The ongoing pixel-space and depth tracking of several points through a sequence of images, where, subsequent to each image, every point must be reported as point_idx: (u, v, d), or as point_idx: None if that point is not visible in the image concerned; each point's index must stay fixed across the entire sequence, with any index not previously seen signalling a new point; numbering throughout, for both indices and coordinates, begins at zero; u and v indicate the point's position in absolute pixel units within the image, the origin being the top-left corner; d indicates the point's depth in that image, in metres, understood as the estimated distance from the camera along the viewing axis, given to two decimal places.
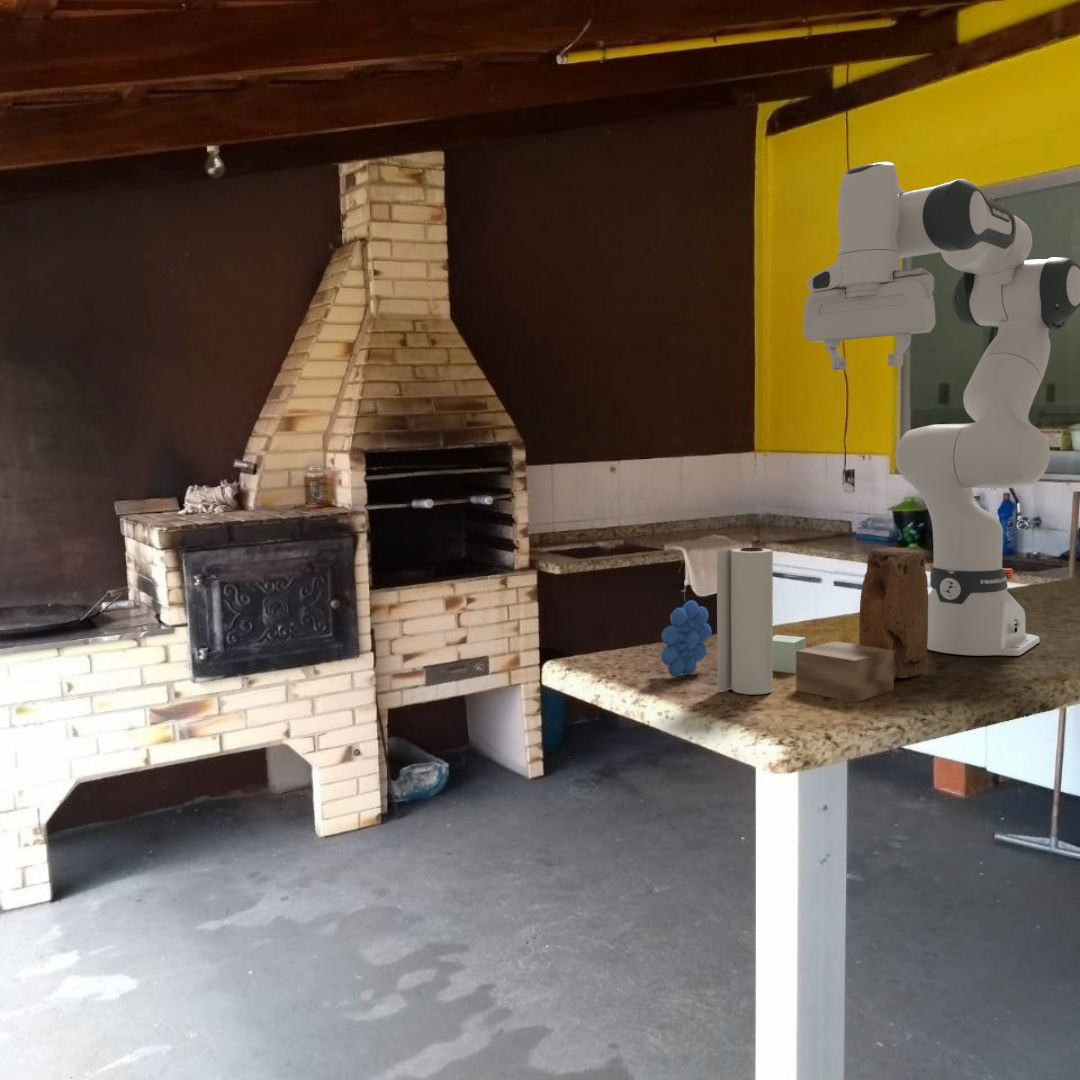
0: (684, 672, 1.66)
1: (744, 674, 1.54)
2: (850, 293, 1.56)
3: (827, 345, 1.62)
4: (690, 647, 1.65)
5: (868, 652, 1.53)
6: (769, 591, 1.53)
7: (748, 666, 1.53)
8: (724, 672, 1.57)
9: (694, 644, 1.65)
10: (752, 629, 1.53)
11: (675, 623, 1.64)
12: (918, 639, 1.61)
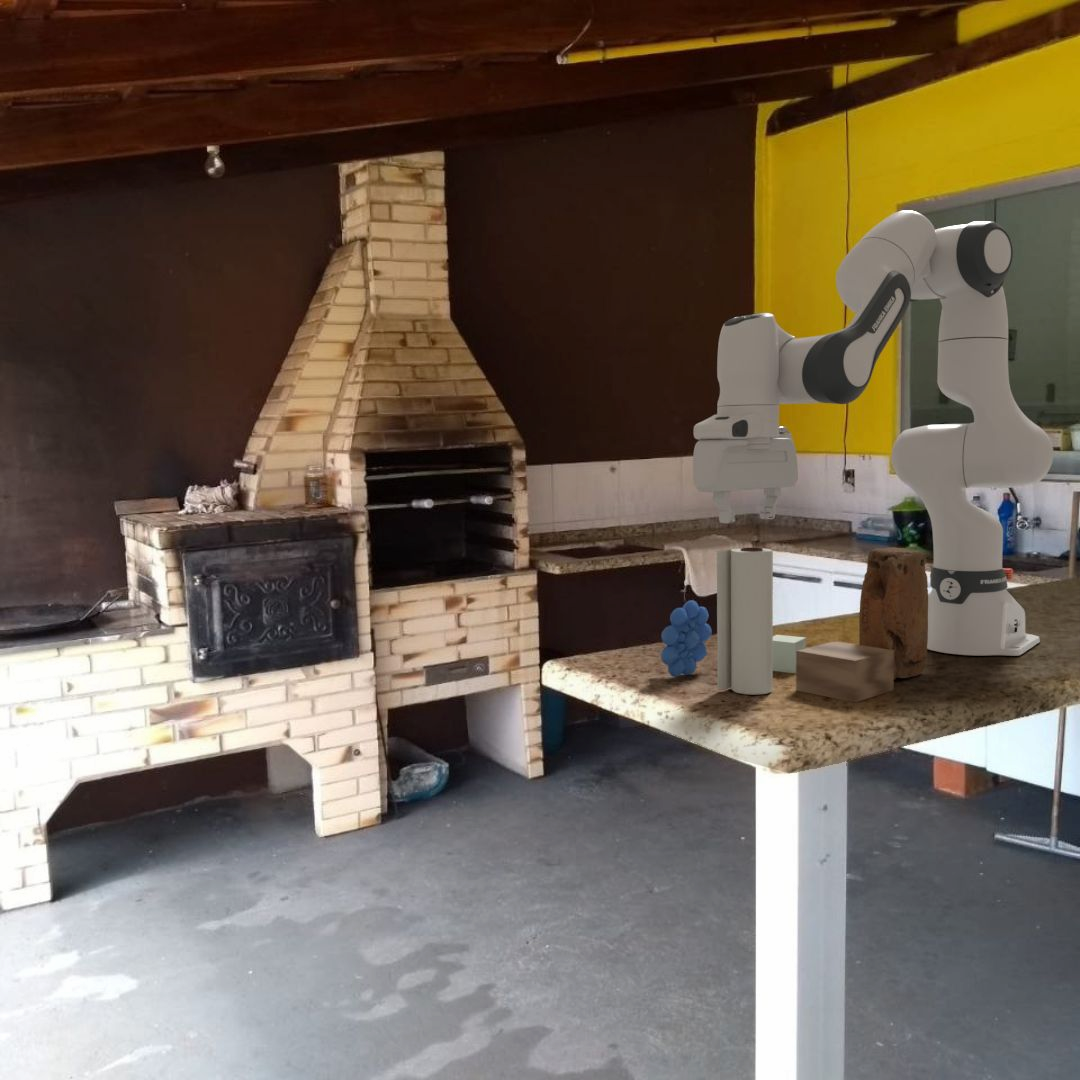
0: (684, 672, 1.66)
1: (744, 674, 1.54)
2: (759, 445, 1.50)
3: (726, 497, 1.49)
4: (690, 647, 1.65)
5: (868, 652, 1.53)
6: (769, 591, 1.53)
7: (748, 666, 1.53)
8: (724, 672, 1.57)
9: (694, 644, 1.65)
10: (752, 629, 1.53)
11: (675, 623, 1.64)
12: (918, 639, 1.61)
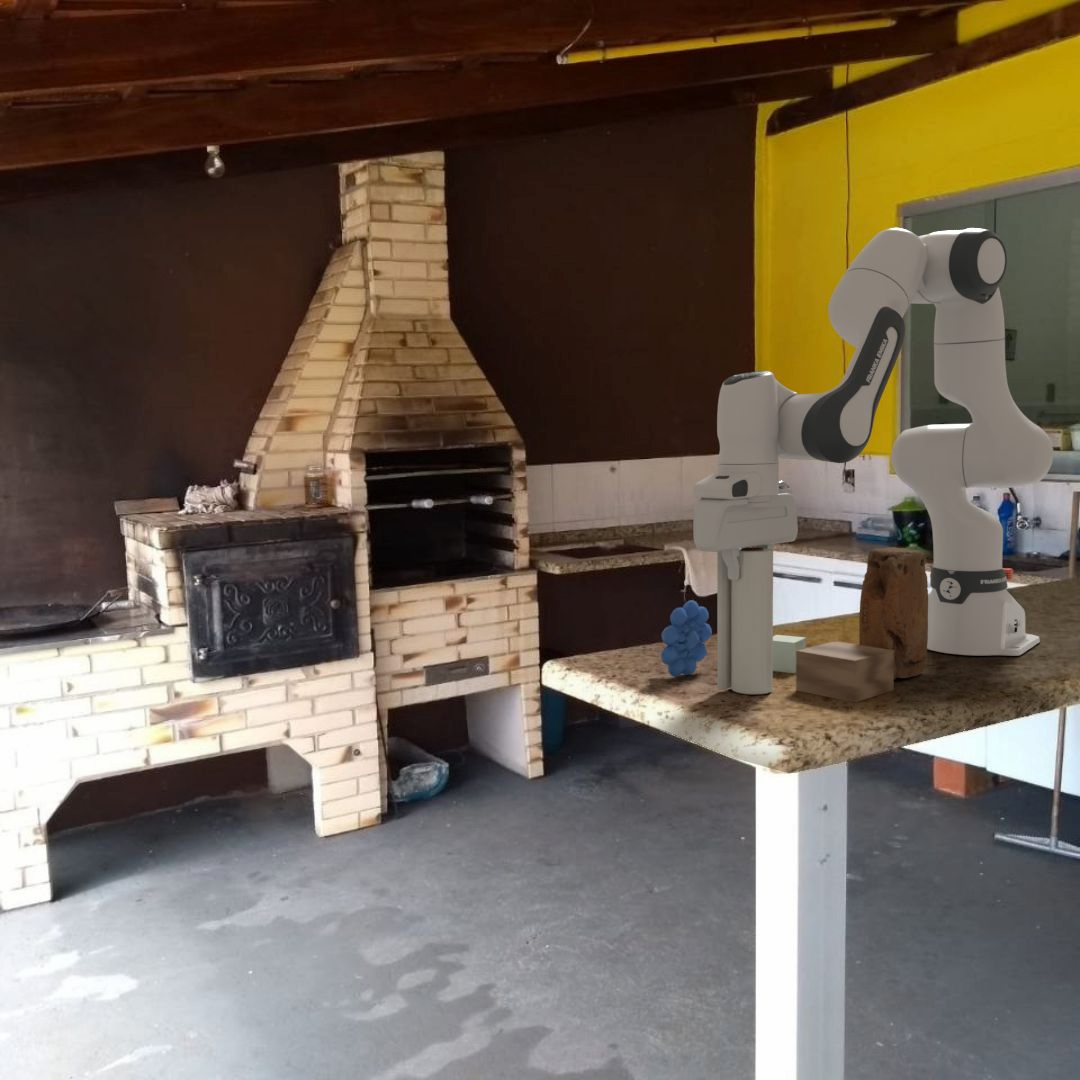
0: (684, 672, 1.66)
1: (744, 673, 1.54)
2: (759, 503, 1.51)
3: (735, 554, 1.51)
4: (690, 647, 1.65)
5: (868, 652, 1.53)
6: (770, 591, 1.53)
7: (748, 666, 1.53)
8: (724, 672, 1.57)
9: (694, 644, 1.65)
10: (752, 629, 1.53)
11: (675, 623, 1.64)
12: (918, 639, 1.61)
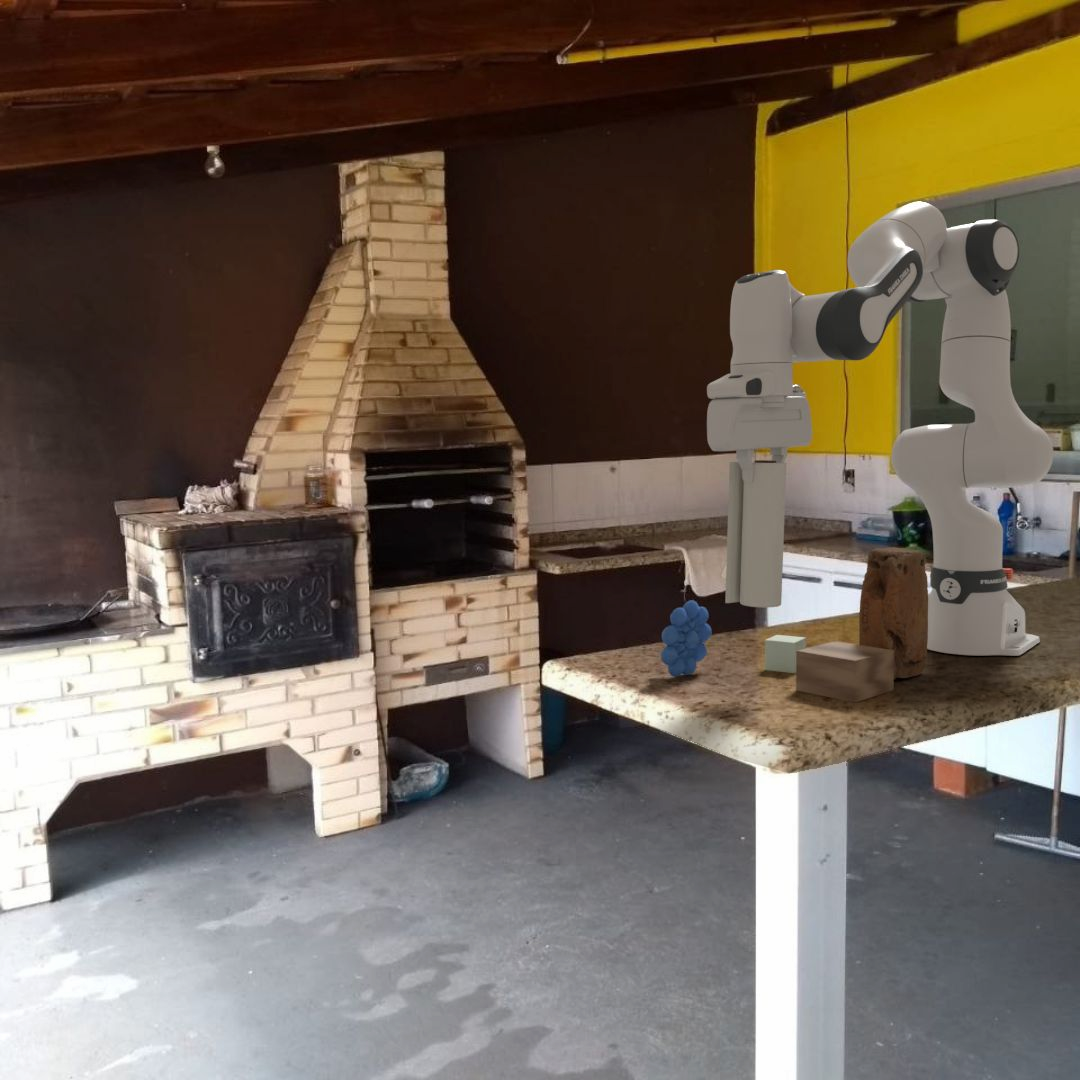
0: (684, 672, 1.66)
1: (751, 586, 1.53)
2: (773, 404, 1.49)
3: (749, 455, 1.50)
4: (690, 647, 1.65)
5: (868, 652, 1.53)
6: (780, 504, 1.52)
7: (755, 578, 1.52)
8: (733, 585, 1.56)
9: (694, 644, 1.65)
10: (761, 541, 1.52)
11: (675, 623, 1.64)
12: (918, 639, 1.61)
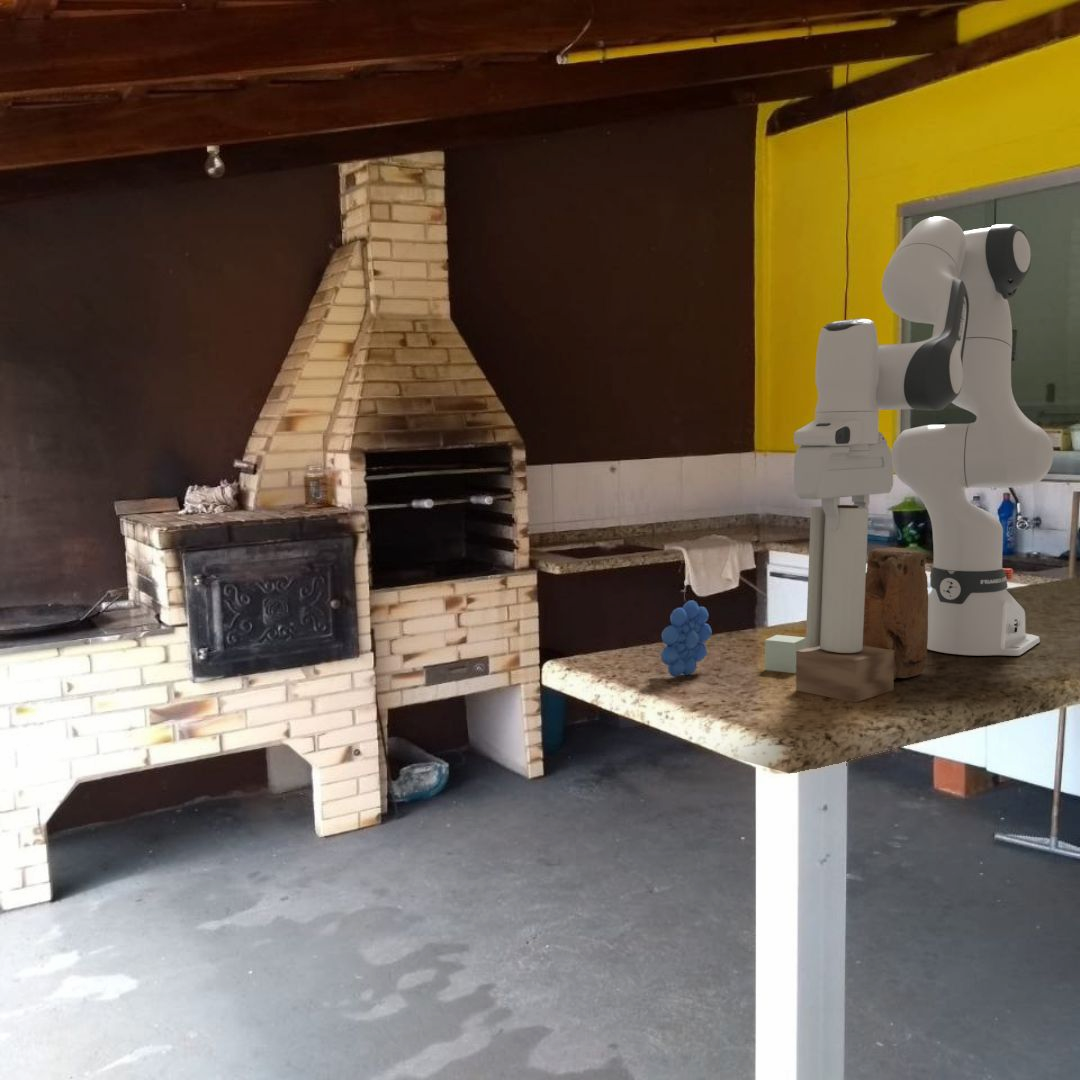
0: (684, 672, 1.66)
1: (834, 631, 1.52)
2: (859, 452, 1.49)
3: (835, 503, 1.49)
4: (690, 647, 1.65)
5: (868, 652, 1.53)
6: (863, 549, 1.51)
7: (838, 624, 1.52)
8: (813, 630, 1.56)
9: (694, 644, 1.65)
10: (843, 586, 1.51)
11: (675, 623, 1.64)
12: (918, 639, 1.61)
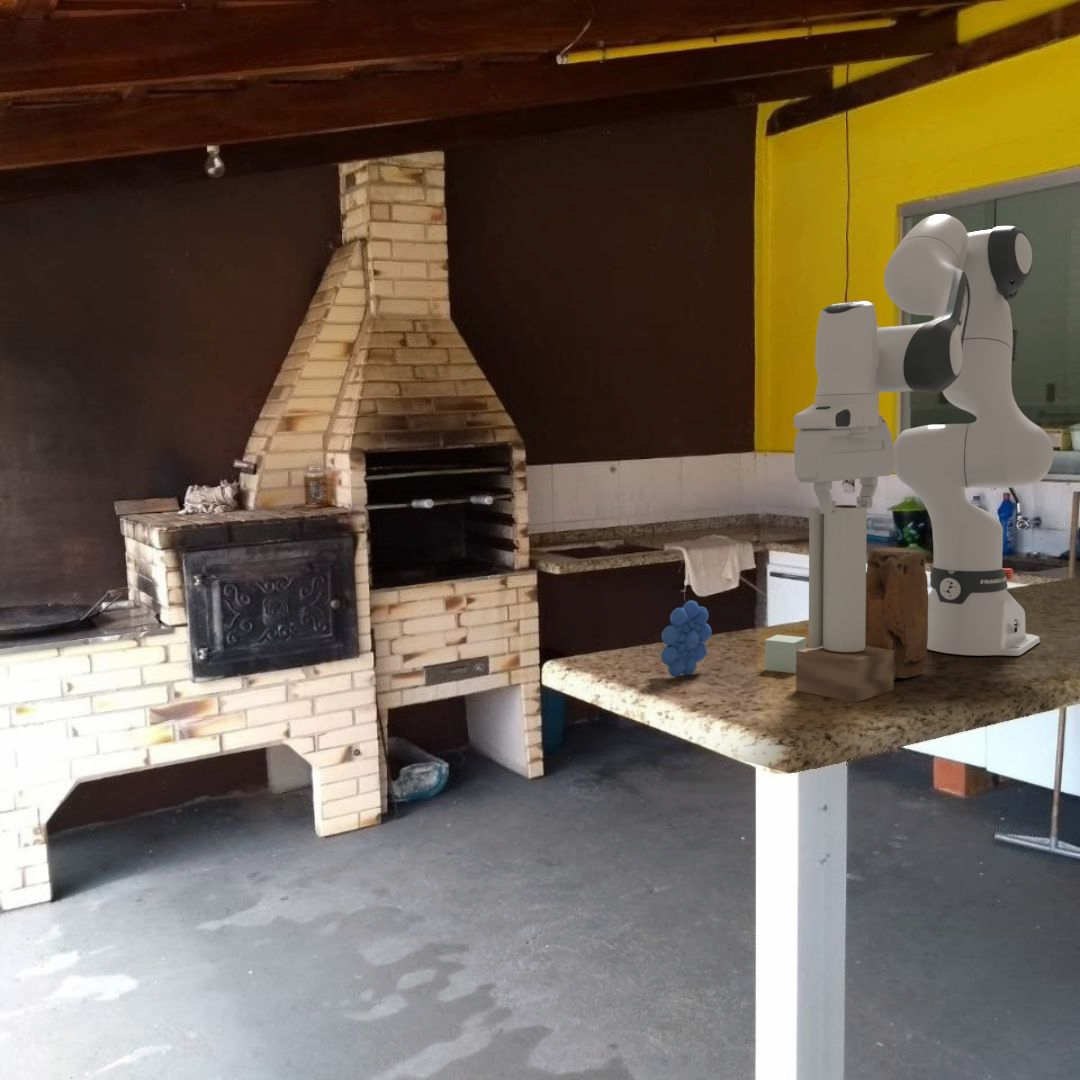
0: (684, 672, 1.66)
1: (836, 631, 1.53)
2: (860, 435, 1.49)
3: (828, 487, 1.48)
4: (690, 647, 1.65)
5: (868, 652, 1.53)
6: (863, 548, 1.52)
7: (840, 623, 1.52)
8: (815, 630, 1.56)
9: (694, 644, 1.65)
10: (844, 586, 1.52)
11: (675, 623, 1.64)
12: (918, 639, 1.61)
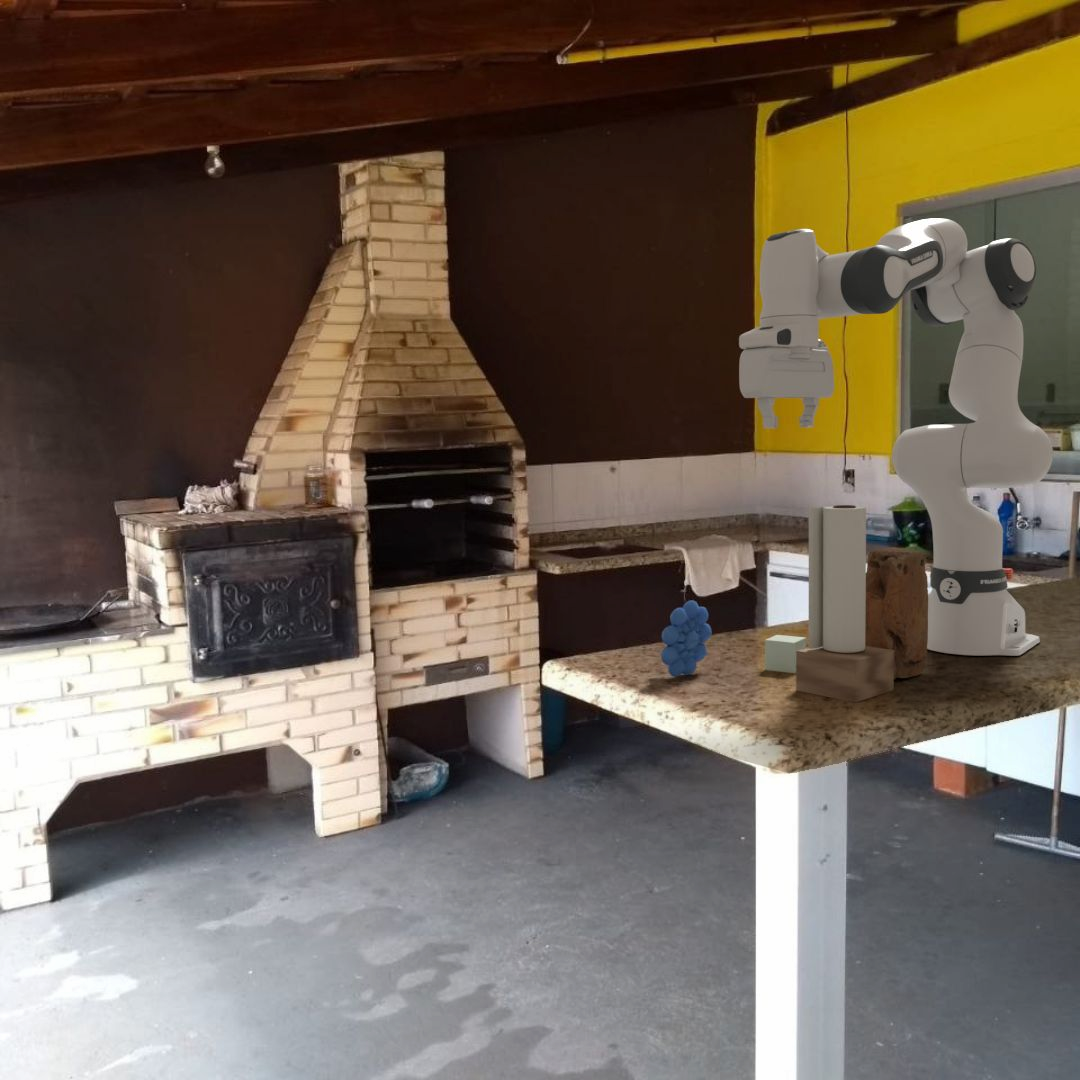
0: (684, 672, 1.66)
1: (836, 632, 1.53)
2: (800, 354, 1.59)
3: (770, 402, 1.58)
4: (690, 647, 1.65)
5: (868, 652, 1.53)
6: (862, 548, 1.52)
7: (840, 624, 1.52)
8: (815, 630, 1.56)
9: (694, 644, 1.65)
10: (844, 586, 1.52)
11: (675, 623, 1.64)
12: (918, 639, 1.61)
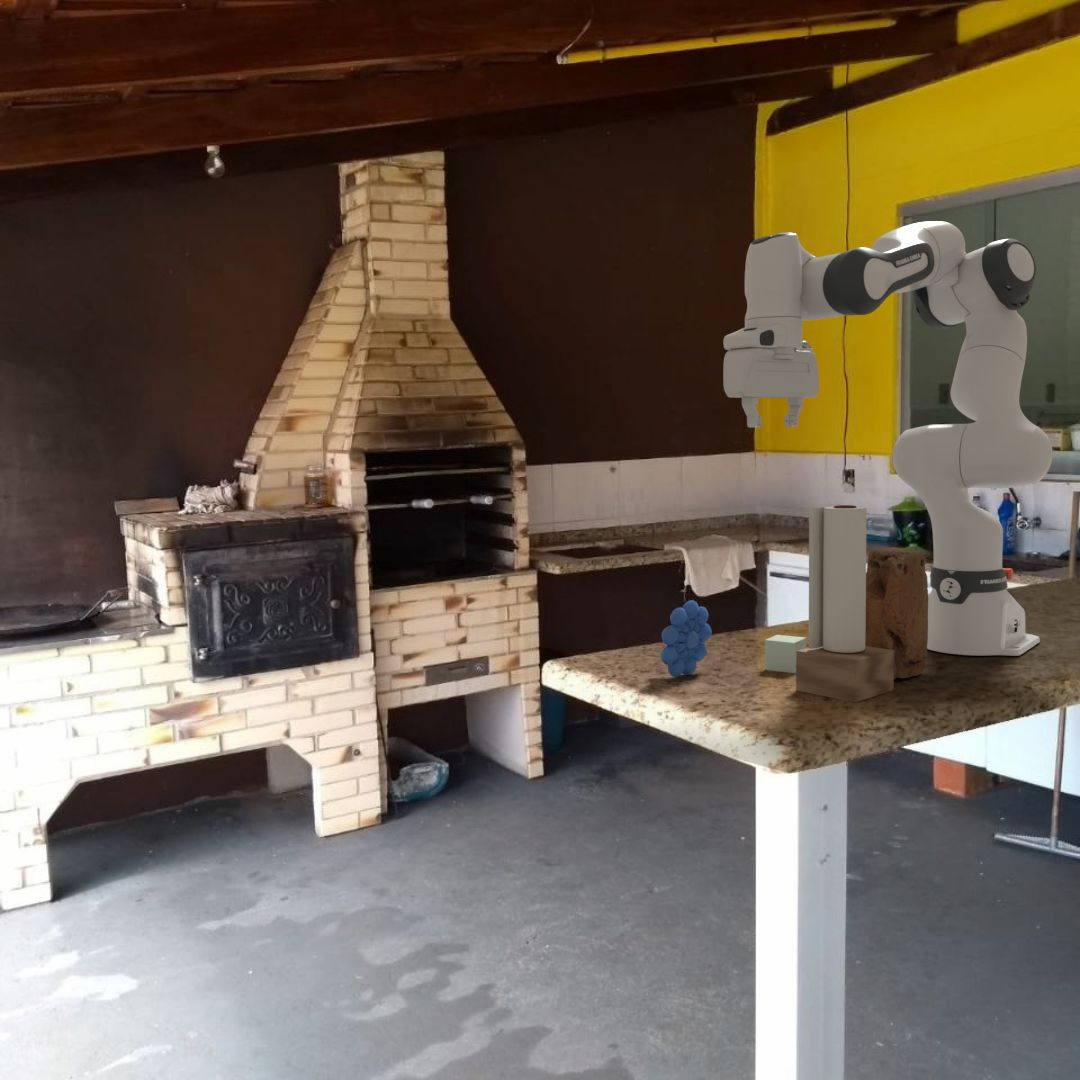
0: (684, 672, 1.66)
1: (836, 632, 1.53)
2: (784, 355, 1.62)
3: (754, 402, 1.61)
4: (690, 647, 1.65)
5: (868, 652, 1.53)
6: (862, 549, 1.52)
7: (840, 624, 1.52)
8: (815, 630, 1.56)
9: (694, 644, 1.65)
10: (844, 586, 1.52)
11: (675, 623, 1.64)
12: (918, 639, 1.61)
